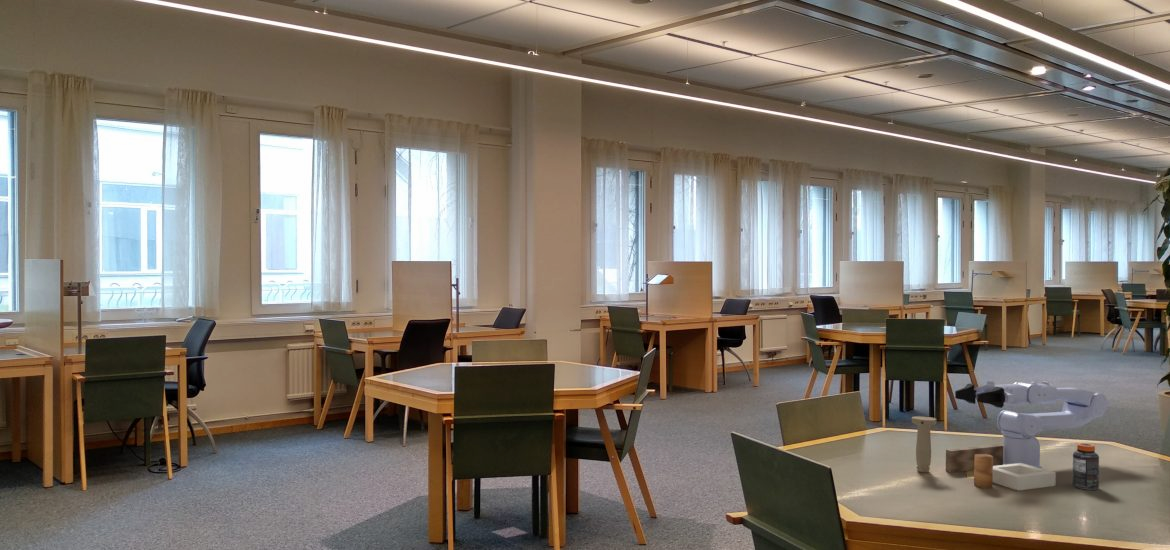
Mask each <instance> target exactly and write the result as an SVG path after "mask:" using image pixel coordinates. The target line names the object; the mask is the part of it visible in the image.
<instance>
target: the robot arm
mask: <svg viewBox="0 0 1170 550" xmlns="http://www.w3.org/2000/svg"><path fill="white" fill-rule="evenodd" d="M965 385H966V386H964V387H962V388H960V389H957V390H955V392H954V395H955V399H957V400H963V401H965V402H966V403H968V404H974V405H975V404H976V400H977V402H978V403H982V404H985V405H986V406H988V407H995V408H1003V407H1004V405H1019V404H1028V405H1034V406H1038V405H1039V404H1054V403H1055V402H1056V401H1057V400H1061V401H1062V400H1063V402H1064V403H1063V406H1062V408H1061V411H1056V412H1055V411H1053V412H1037V413H1023V412H1021V413H1020V412H1015V411H1011V410H1009V409H1004V410H1002V411H1000V412H999V413H998V415H997V418H996V425H997V428H998V430H999V431H1000V434H1001V435H1002V438H1003V439H1002V446H1003V465H1006V464H1015V463H1024V464H1027V465H1031V466H1034V467H1038V468H1041V469H1043V466H1042V465H1041V464H1040V463H1041V462H1040V461H1041V460H1040V459H1041V445H1040V441H1039V440H1038V438H1037V437H1036V435H1039V434H1042V431H1054V430H1055V431H1056V430H1057V431H1058V430H1069V429H1071V430H1072V429H1079V428H1082V427H1084V426H1085V425H1087V424H1088V423H1089V422H1091V421H1092V420H1094V419H1097V418H1098V419H1099V418H1102V417H1103V415H1104V414H1105V412H1106V410H1107V408H1108V403H1109V402H1108V398H1107V396H1106V395H1105V394H1104V393H1102V392H1095V391H1091V390H1087V389H1082V388H1076V387H1070V386H1069V387H1056V386H1055V385H1053V384H1052V383H1050V382H1049V381H1042V382H1041V383H1038V382H1035V381H1031V382H1030V383H1027V382H1021V381H1016V382H1014V383H1005V384H1004V383H1002V384H995V381H993V380H987V381H986V384H984V385H982V386H978V387H975V383H968V384H965Z"/></svg>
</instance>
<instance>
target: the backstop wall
mask: <svg viewBox="0 0 1170 550" xmlns="http://www.w3.org/2000/svg"><path fill="white" fill-rule="evenodd" d="M975 454H988V455H991V456H993V466H997V465H1003V444H1002V445H1001V444H990V445H978V446H969V447H968V446H966V447H960V448H959V447H958V448H949V449H945V471H946V472H949V473H958V472H967V471H968V472H969V471H974V459H975Z"/></svg>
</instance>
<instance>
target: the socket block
mask: <svg viewBox="0 0 1170 550" xmlns="http://www.w3.org/2000/svg"><path fill="white" fill-rule="evenodd" d="M1056 475H1057V472H1055V471H1051V470H1048V469H1044V468H1038V467H1034V466H1031V465H1027V464H1024V463H1015V464H1006V465H997V466H993V483H994V484H997V485H999V486H1003V487H1006V488H1010V489H1012V490H1016V491H1024V490H1025V491H1026V490H1033V489H1040V488H1048V487H1056V479H1057V478H1056Z"/></svg>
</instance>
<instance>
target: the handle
mask: <svg viewBox="0 0 1170 550" xmlns="http://www.w3.org/2000/svg"><path fill="white" fill-rule="evenodd" d="M911 423H912V424H914V425H916V426H917V427H916V428H917V429H916V430H917V431H916V433H917V434H916V445H915V446H916V447H915V459H916V461H915V462H916V465H917V466H916V471H917V472H921V473H925V474H926V473H929V472H930V469H931V462H932V442H931V441H932V440H931V439H932V438H931V429H932V428H931V427H934V426H935V425H936V424H937V418H935V417H929V416H918V415H917V416H912V417H911Z"/></svg>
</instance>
